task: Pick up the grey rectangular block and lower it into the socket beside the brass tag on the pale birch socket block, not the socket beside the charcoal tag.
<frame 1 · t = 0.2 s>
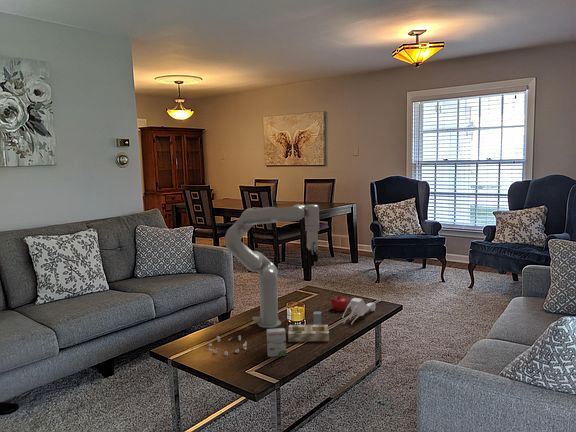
hand: (313, 259, 245), 36 cm above the table, tool pointing down, fingers open, 9 cm apart
socket block: (308, 336, 232), on the table
game piece set: (227, 348, 221), on the table
grey rectangular block: (317, 327, 244), on the table
pomegranate: (339, 309, 273), on the table
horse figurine: (360, 318, 258), on the table
ink box: (276, 354, 211), on the table
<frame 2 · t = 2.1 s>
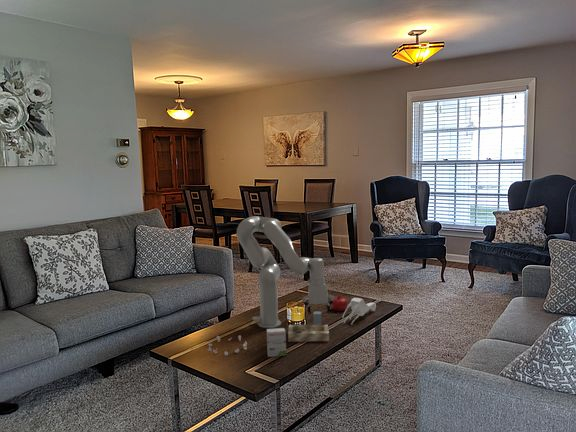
hand: (319, 313, 243), 8 cm above the table, tool pointing down, fingers open, 9 cm apart
nothing on the table moved.
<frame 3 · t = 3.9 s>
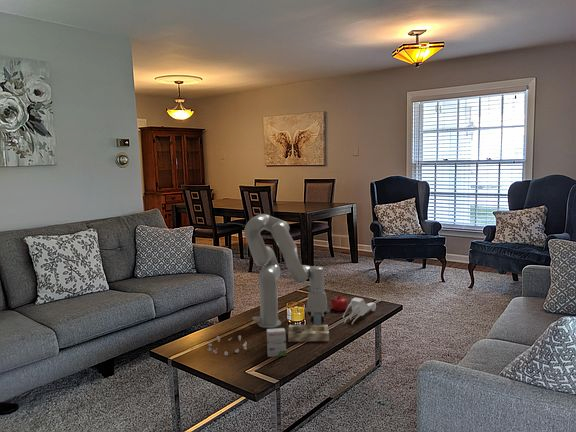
hand: (317, 323, 244), 2 cm above the table, tool pointing down, fingers closed on grey rectangular block, 4 cm apart
grey rectangular block: (317, 327, 245), on the table, touching gripper
everything else where it was.
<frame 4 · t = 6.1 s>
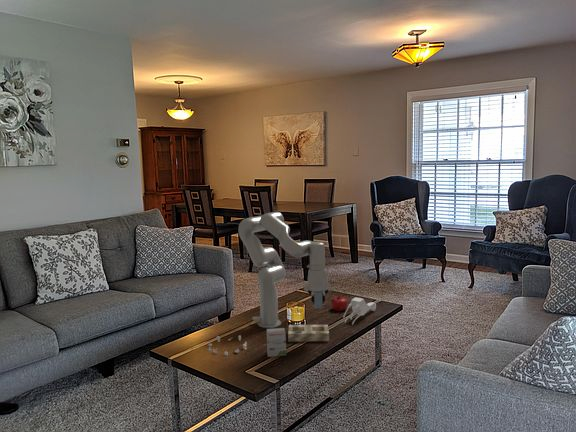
hand: (318, 302, 230), 17 cm above the table, tool pointing down, fingers closed on grey rectangular block, 4 cm apart
grey rectangular block: (318, 307, 230), point 15 cm above the table, touching gripper
everything else where it was.
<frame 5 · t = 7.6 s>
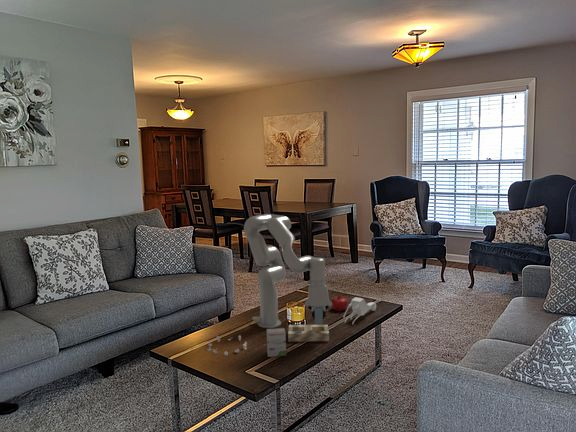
hand: (318, 318, 230), 10 cm above the table, tool pointing down, fingers closed on grey rectangular block, 4 cm apart
grey rectangular block: (318, 322, 231), point 7 cm above the table, touching gripper
everything else where it was.
when the fingers open (5 cm above the table, at t = 8.8 s): grey rectangular block drops 2 cm, resting on socket block.
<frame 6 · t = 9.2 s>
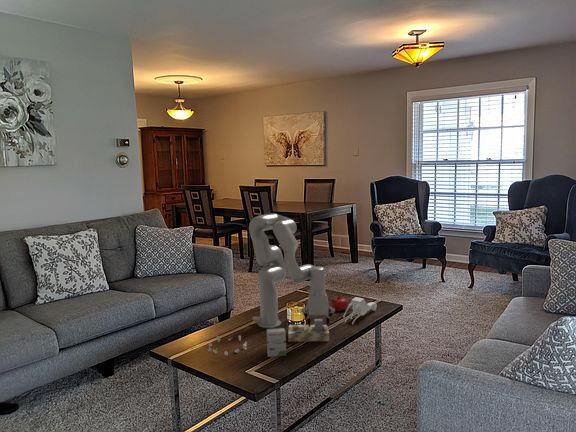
hand: (318, 325, 231), 6 cm above the table, tool pointing down, fingers open, 8 cm apart
grey rectangular block: (318, 335, 232), resting on socket block
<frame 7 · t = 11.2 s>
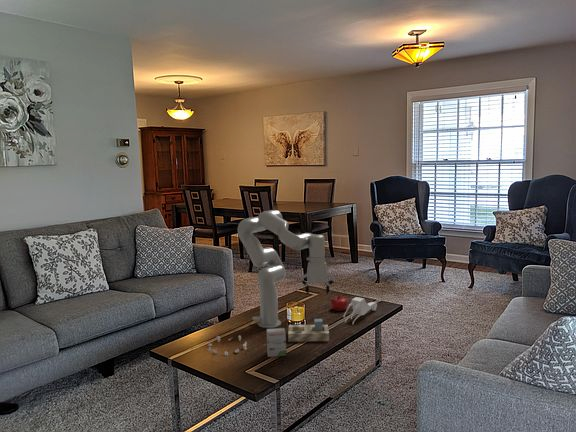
hand: (317, 293, 229), 22 cm above the table, tool pointing down, fingers open, 9 cm apart
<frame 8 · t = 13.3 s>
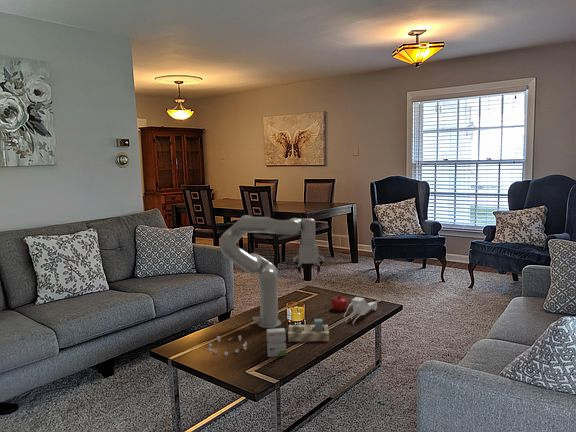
hand: (309, 273, 246), 28 cm above the table, tool pointing down, fingers open, 9 cm apart
at the end: grey rectangular block 0.1 cm from the target spot on the socket block, point 0.5 cm above the socket block's base; grey rectangular block tilted 0°; the gripper is holding nothing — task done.
